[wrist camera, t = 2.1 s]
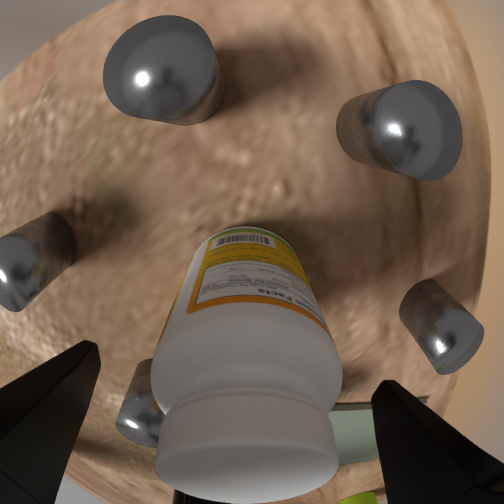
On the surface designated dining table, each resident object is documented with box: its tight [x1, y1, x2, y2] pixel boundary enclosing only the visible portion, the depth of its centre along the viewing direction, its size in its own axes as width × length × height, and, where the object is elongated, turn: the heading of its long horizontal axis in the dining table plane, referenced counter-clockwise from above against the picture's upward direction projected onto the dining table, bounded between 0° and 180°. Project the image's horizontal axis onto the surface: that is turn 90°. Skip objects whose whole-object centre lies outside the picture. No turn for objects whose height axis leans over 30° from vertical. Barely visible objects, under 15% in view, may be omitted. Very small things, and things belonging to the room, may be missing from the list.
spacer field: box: [0, 15, 484, 448], centre depth 11 cm, size 19×24×4 cm
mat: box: [327, 398, 427, 465], centre depth 19 cm, size 10×10×1 cm
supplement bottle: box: [150, 226, 343, 504], centre depth 9 cm, size 5×5×10 cm
